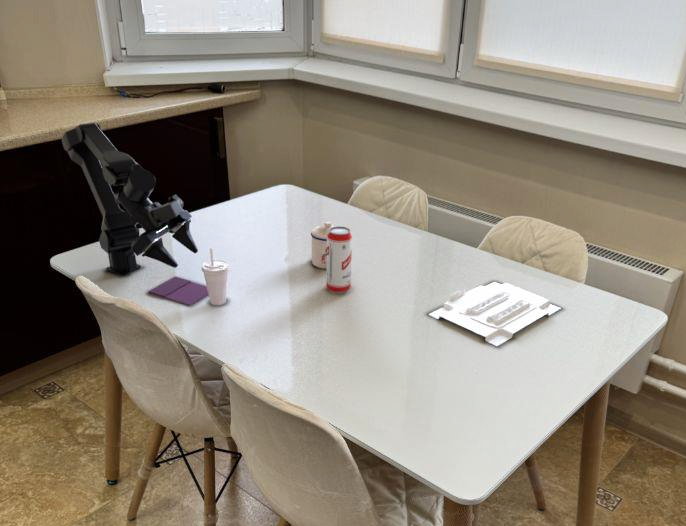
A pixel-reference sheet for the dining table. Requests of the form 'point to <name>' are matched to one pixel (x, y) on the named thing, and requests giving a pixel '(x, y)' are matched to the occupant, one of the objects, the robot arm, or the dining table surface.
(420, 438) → the dining table surface
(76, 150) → the robot arm
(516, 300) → the tray
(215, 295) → the smoothie
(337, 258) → the beer can
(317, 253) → the teacup with lid
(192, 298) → the dish cloth
